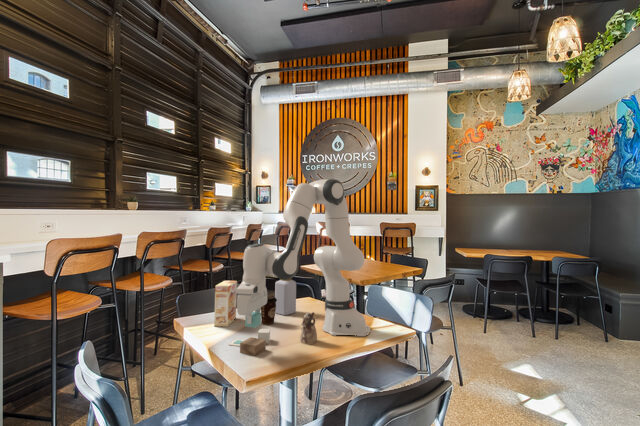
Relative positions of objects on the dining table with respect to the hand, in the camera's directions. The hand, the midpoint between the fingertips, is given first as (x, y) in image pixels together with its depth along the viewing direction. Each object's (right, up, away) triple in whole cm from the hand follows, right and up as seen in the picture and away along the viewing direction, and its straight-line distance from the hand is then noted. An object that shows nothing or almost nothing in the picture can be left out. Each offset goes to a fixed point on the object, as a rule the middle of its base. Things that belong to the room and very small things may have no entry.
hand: (253, 321), depth 130 cm
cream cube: (+3, -12, +11) cm, 16 cm away
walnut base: (0, -12, 0) cm, 12 cm away
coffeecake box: (-21, -13, +37) cm, 44 cm away
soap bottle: (+7, -13, +55) cm, 57 cm away
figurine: (+21, -12, +11) cm, 27 cm away
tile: (-7, -12, +8) cm, 16 cm away
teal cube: (0, -2, 0) cm, 2 cm away
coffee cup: (0, -13, +36) cm, 38 cm away
